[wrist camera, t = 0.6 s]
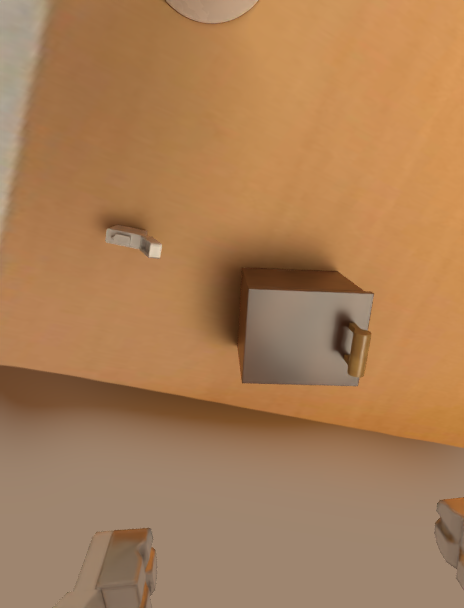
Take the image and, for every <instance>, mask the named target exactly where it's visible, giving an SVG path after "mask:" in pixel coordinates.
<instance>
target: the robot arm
mask: <svg viewBox="0 0 464 608" xmlns="http://www.w3.org/2000/svg"><path fill="white" fill-rule="evenodd" d="M166 1H167V3H168V4H169V5H170V6H171V7H173V8H174V9H175V10H176V11H178V12H179V13H180V14H182V15H184V16H185V17H188V18H190V19H192V20H195V21H198V22H202V23H213V24H214V23H223V22H227V21H230V20H233V19H235V18H237V17H239V16H241V15H243V14H244V13H246V12H247V11H248V10H250V9H251V8H252V7H253V6H254V5H255V4H256V3H257V2H258V0H166ZM436 511H437V512H438V514H439V515H440V518H439V519H438V520H437V522H436V523H435V537H436V541H437V545H438V547H439V549H440V552H441V554H442V555H443V557H444V559H445V560H446V562H447V563H449V564H450V565H452V566H453V567H454V568H456V569H457V577H456V579H457V580H458V582H459V583H460V585H461V587H462V588H463V590H464V497H463V498H453V499H444V500H440V501H439V502H438V503H437V510H436ZM152 541H153V536H152V531H151V529H150V528H142V529H128V530H114V531H103V532H96V533H95V535H94V536H93V537H92V540H91V543H90V546H89V549H88V551H87V554H86V557H85V560H84V563H83V565H82V568H81V571H80V574H79V576H78V580H77V582H76V585H75V588H74V591H73V592H67V593H66V594H65V595H64V597H62V599H61V600H60V601H59V602H58V603H57V604H56V605H55V606H54V607H53V608H152V604H151V599H150V596H151V594H152V593H153V592H154V590H155V586H156V579H157V557H156V551H155V549H154V548H152Z"/></svg>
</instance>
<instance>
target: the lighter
mask: <svg viewBox="0 0 464 608" xmlns="http://www.w3.org/2000/svg"><path fill="white" fill-rule="evenodd" d="M105 241H106V242H107V243H111V244H116V245H121V246H126V247H131V248H136V249H140V250H141V251H142V252H143V253H144V254H145V255H146V256H147V257H148V258H157V259H159V258H160V255H161V248H162V244H161V243H160V242H158V241H157V240H156V239H154V238H153V237H149V236H147V231H145V230H141V229H136V228H131V227H126V226H121V225H115V226H113V227H111V228H108V229H107V232H106V240H105Z"/></svg>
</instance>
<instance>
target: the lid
mask: <svg viewBox="0 0 464 608" xmlns="http://www.w3.org/2000/svg"><path fill="white" fill-rule="evenodd" d="M373 297H374V293H372V292H365V291H340V290H315V289H289V288H264V287H248V292H247V307H246V322H245V337H244V352H243V367H242V383H258V384H296V385H334V386H358V383H359V377H363V376H364V373H365V367H366V362H367V356H368V351H369V345H370V339H371V332H369V331H368V325H369V320H370V314H371V308H372V303H373Z"/></svg>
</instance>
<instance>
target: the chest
mask: <svg viewBox="0 0 464 608" xmlns="http://www.w3.org/2000/svg"><path fill="white" fill-rule="evenodd" d="M248 287H264V288H289V289H315V290H340V291H363V290H362V289H361V288H359V287H358V286H357V285H355V284H354V283H353V282H351V281H350V280H348V279H347V278H346V277H344V276H343V275H342V274H340V273H339V272H336V271H313V270H289V269H265V268H242V278H241V294H240V310H239V327H238V343H237V347H238V355H239V363H240V371H241V379H242V367H243V352H244V337H245V322H246V307H247V292H248Z"/></svg>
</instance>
